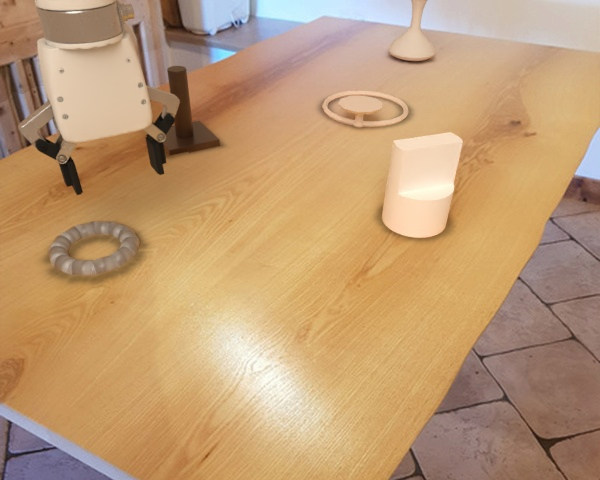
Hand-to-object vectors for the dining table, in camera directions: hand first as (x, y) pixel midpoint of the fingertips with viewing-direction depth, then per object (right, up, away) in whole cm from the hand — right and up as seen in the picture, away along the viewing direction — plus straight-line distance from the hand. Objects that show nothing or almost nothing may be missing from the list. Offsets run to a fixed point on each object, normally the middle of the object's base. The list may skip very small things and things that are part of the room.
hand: (118, 179), depth 65 cm
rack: (+2, +13, +30) cm, 33 cm away
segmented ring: (-4, -8, +4) cm, 10 cm away
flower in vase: (+49, +44, +68) cm, 95 cm away
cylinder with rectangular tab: (+38, -3, +12) cm, 40 cm away
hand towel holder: (+34, +22, +41) cm, 58 cm away
